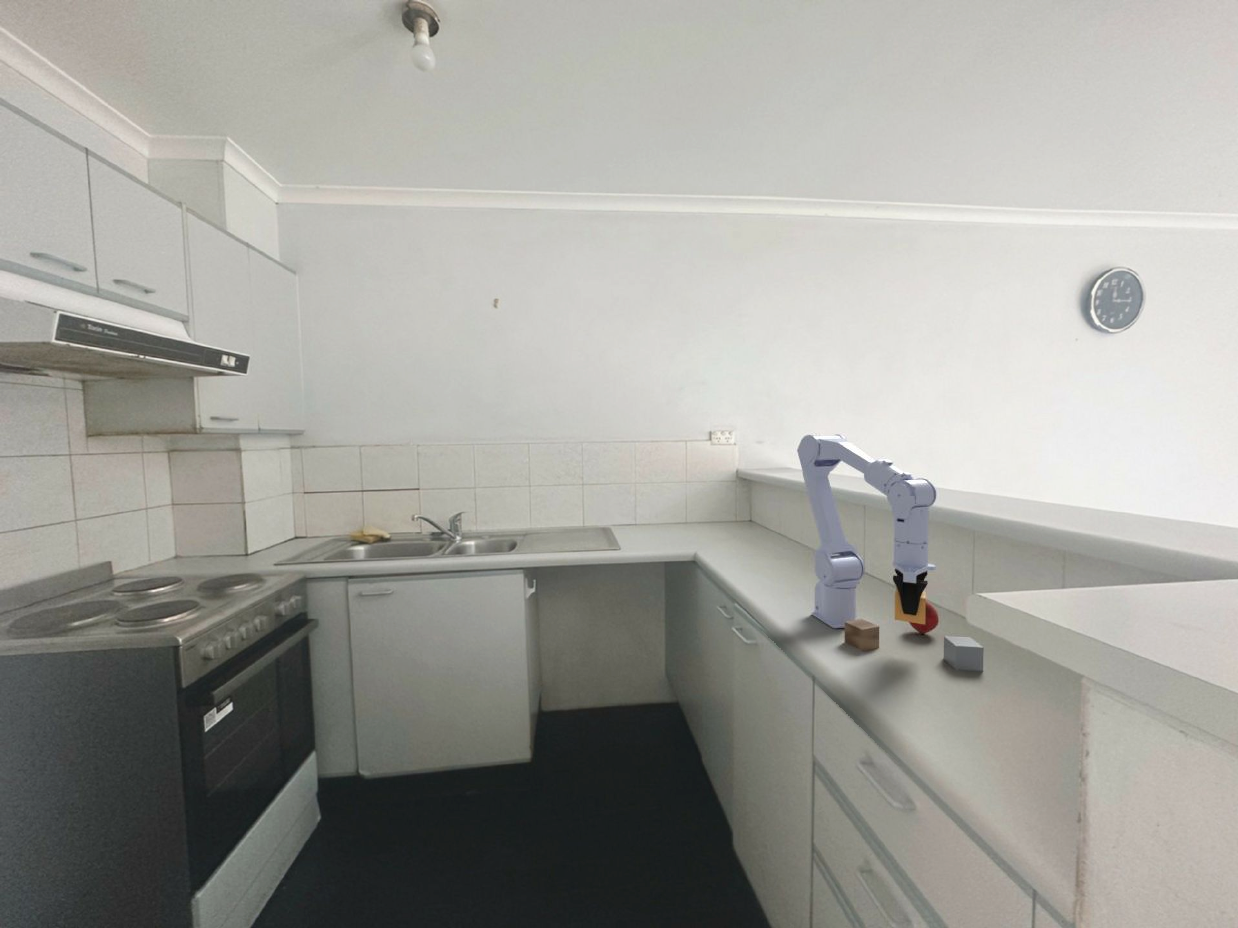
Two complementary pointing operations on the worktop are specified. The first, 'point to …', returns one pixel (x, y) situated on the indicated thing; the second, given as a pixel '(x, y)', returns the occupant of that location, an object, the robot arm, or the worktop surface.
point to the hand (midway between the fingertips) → (910, 609)
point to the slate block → (963, 653)
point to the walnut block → (862, 634)
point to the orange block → (906, 617)
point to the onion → (927, 620)
